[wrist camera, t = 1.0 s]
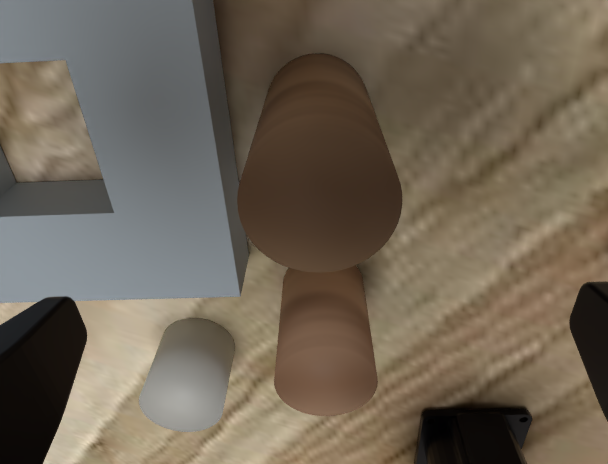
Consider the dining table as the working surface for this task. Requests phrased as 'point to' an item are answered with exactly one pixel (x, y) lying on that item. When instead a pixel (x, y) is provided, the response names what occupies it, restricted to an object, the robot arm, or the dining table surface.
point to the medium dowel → (324, 343)
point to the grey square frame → (128, 158)
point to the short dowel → (189, 376)
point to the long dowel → (319, 170)
